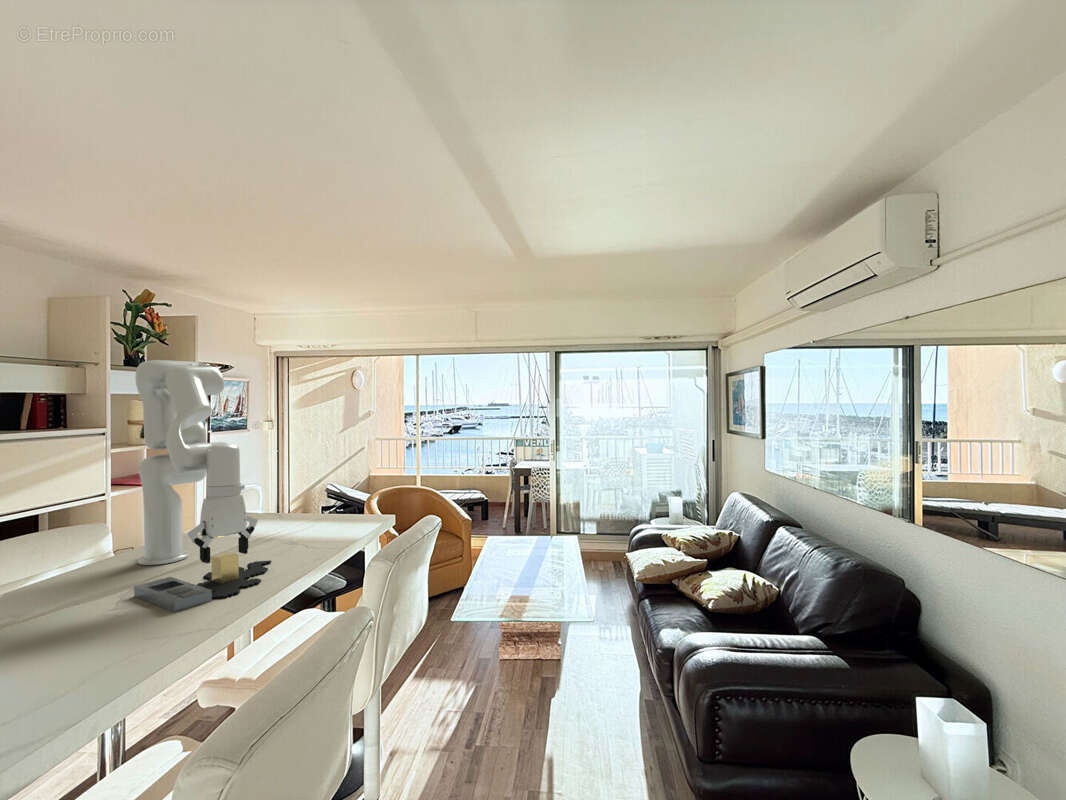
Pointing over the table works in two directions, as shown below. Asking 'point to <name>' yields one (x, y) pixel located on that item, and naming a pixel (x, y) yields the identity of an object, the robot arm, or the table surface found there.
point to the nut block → (225, 567)
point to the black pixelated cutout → (235, 581)
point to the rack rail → (173, 594)
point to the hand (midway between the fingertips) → (224, 557)
